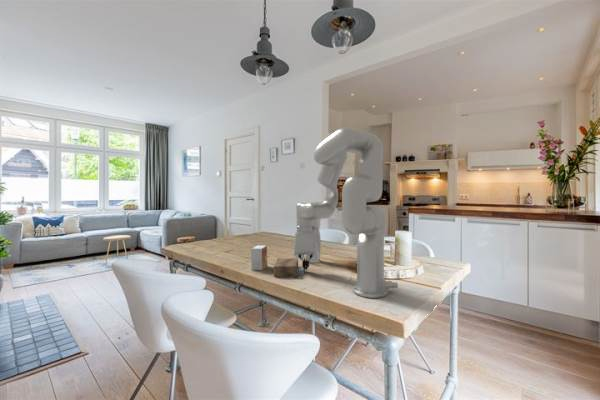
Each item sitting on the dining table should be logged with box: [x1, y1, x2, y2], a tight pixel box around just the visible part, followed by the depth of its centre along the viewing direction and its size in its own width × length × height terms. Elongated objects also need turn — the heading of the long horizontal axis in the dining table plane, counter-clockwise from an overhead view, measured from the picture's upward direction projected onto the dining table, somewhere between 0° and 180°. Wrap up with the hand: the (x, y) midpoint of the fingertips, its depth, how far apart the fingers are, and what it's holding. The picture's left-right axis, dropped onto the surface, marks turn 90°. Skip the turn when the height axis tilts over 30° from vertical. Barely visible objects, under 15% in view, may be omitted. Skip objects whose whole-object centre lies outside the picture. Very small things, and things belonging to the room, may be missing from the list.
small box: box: [250, 244, 268, 271], centre depth 133 cm, size 8×6×10 cm
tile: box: [297, 266, 305, 276], centre depth 124 cm, size 12×6×2 cm, turn 88°
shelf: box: [273, 257, 303, 278], centre depth 125 cm, size 12×14×5 cm
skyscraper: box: [305, 219, 322, 265], centre depth 143 cm, size 8×8×28 cm
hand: (305, 268), depth 125 cm, fingers closed
